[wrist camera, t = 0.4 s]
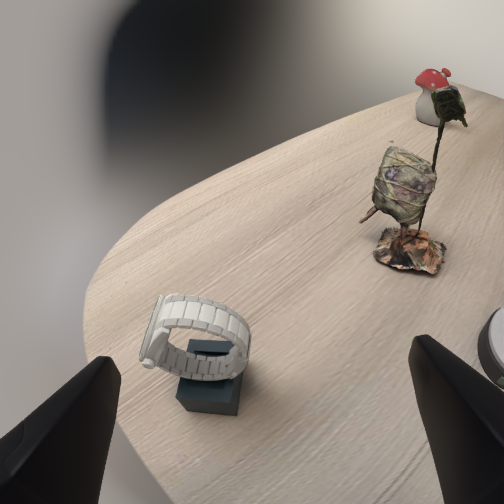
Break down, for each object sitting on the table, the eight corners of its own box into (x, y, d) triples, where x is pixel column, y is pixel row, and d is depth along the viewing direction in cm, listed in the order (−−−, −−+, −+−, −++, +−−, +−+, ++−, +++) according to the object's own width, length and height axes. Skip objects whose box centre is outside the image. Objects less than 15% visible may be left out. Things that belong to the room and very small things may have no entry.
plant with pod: (379, 215, 41) (390, 66, 28) (452, 252, 34) (491, 94, 21) (345, 246, 37) (352, 74, 24) (427, 292, 31) (476, 107, 17)
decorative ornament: (450, 126, 64) (456, 70, 54) (438, 130, 62) (443, 70, 52) (421, 114, 70) (425, 61, 60) (408, 117, 68) (411, 61, 58)
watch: (179, 355, 29) (135, 275, 22) (264, 359, 28) (248, 275, 20) (165, 408, 25) (106, 342, 18) (258, 418, 24) (236, 354, 16)
